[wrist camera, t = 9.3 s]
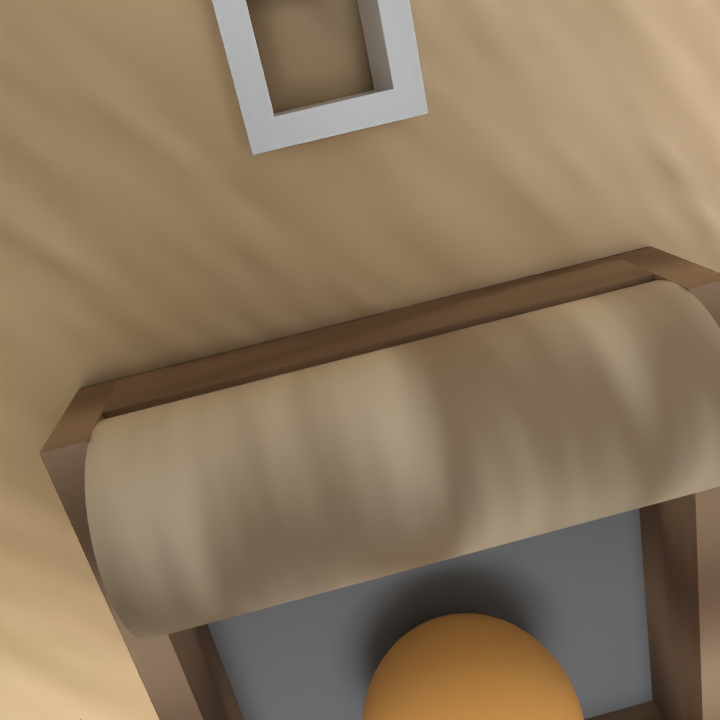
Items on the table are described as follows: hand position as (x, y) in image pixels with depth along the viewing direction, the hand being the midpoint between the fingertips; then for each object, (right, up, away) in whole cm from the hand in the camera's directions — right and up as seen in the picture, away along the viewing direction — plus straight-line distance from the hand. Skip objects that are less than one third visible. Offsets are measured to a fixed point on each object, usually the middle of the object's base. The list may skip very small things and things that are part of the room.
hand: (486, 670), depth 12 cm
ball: (+1, -5, +7) cm, 9 cm away
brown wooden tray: (0, -1, +9) cm, 9 cm away
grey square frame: (-3, +12, +4) cm, 13 cm away
